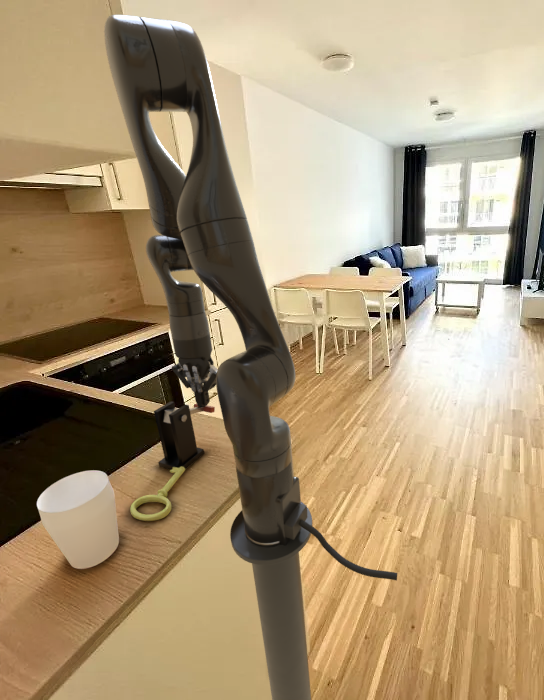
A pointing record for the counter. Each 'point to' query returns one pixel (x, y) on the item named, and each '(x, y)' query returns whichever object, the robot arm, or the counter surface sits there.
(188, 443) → the bracket
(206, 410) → the lever
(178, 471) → the key
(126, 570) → the counter surface
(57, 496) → the cup
